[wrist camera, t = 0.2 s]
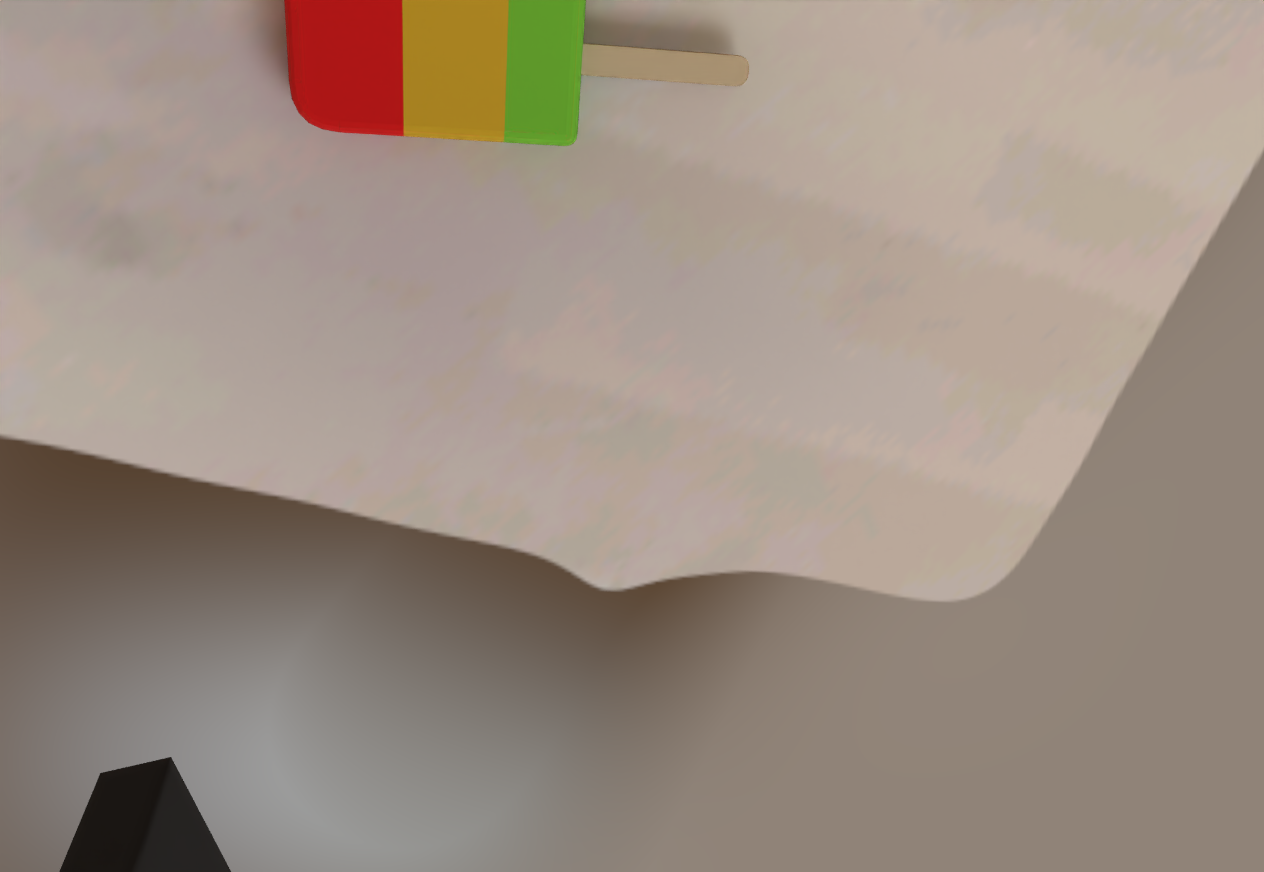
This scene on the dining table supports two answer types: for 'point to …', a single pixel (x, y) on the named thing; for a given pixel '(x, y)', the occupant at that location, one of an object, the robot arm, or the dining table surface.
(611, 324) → the dining table surface
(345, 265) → the dining table surface
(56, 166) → the dining table surface
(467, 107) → the popsicle
